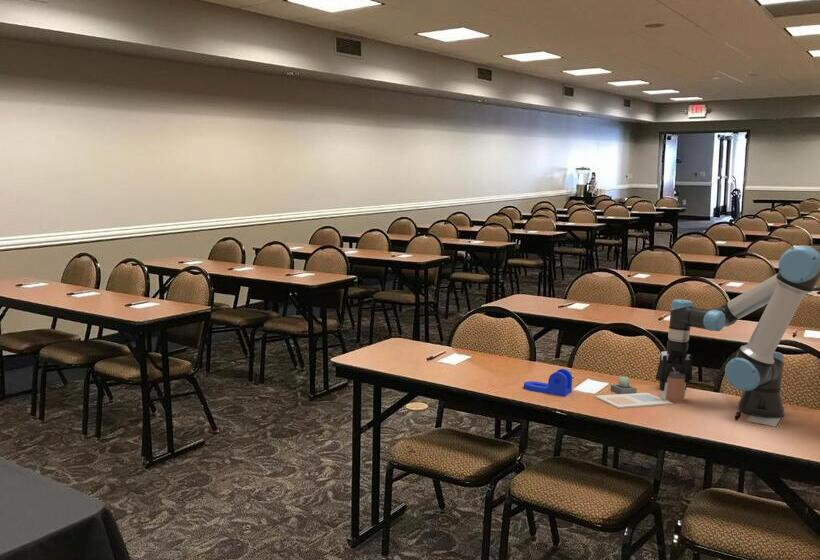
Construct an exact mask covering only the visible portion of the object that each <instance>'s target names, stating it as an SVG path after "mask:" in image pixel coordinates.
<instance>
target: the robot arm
mask: <svg viewBox="0 0 820 560" xmlns="http://www.w3.org/2000/svg"><path fill="white" fill-rule="evenodd" d="M778 261H779V262H778V265H777V267H778V272H777V273H776V274H774V275H772V276H771V277H769V278H767V279H766V280H764V281H762V282H760V283H759V284H757V285H755V286H753V287H751V288H750V289H747V291H744V292H743V293H741V294H739V295H737V296H736V297H734V298H732V299H730V300H729V301H727V302H725V303H723V304H722V305H720V306H717V307H711V308H709V307H708V308H705V307H704V308H703V307H702V308H701V307H696V306H694V303H693V301H692V300H688V299H679V298H677V299H672V302H671V305H670V311H669V313H670V314H669V323H668V324H669V325H668V333H667V334H668V335H667V337H668V340H667V341H666V342H667V344H666V349H667V351H668V352H667V354H666V355H662V354H661V353H660V354H661V355H660V354H659V355H660V358H659V363H658V366H657V371H656V374H655V380H656V381H659V398H661V399H663V400H666V401H667V399H666V394H667V385H668V383H666V381H667V379H668V376H669V374H670V372H671V370H672V368H673V367H674V366H675V365H676V364H677V365H678V368H679V372H680V373H683V374H685V382H684V394H683V400H685V396H686V390H687V387H688V383H690V382H691V381H693V360H694V359H693V358H694V356H693V355H692V354H689V353H687V352H688V351H689V341H690V333H691V328H696V329H702V330H708V331H709V332H710V331H711V332H712V331H713V332H720V331H722V330H723V329H724V328H725V327H729V326H733V325H734V324H736V323H737V322H738V320H740V319H742V318H743V317H746V316H747V315H749V314H751V313H753V312H755V311H756V310H759V309H760V308H762V307H764V306H766V307H765V309H764V310H763V313H762V315H761V317H760V318H759V321H758V323H757V324H756V326H755V328H754V330H753V332H752V334H751V336H750V338H749V340H748V342H747V344H744V345H741V346H740V347H739V349H738V351H737V353H736V354H735V355H736V356H735V357H733V358H731V359H730V360H729V361H728V362H727V363H726V365H725V367H724V375H725V376H724V377H726V380H727V382H728V383H729V384H730V385H731V386H732V388H734V389H736V390H738V391H742V394H741V396H740V398H739V400H738V402H737V403H738V404H737V409H738V410H739V409H740V410H741V412H742V413H744V414H748V415H752V416H755V417H762V418H781V417H780V416H782V417H783V415H784V416H785V407H784V404H783V401H782V394H781V390H782V381H783V380H782V379H783V370H784V364H785V362H784V354H783V353H782V352H779V351H776V349H777V347H778V346H779V344H780V342H781V340H782V338H783V336H784V334H785V332H786V330H788V327H789V325H790V323H791V321H792V319H793V317H794V315H795V314H796V312H797V310H798V308H799V306H800V304H801V302H802V300H803V299H804V296H805V295H808V294H810V293H812V292H813V291H814V288H815V287H816V286H817V283H818V282H819V281H820V245H797V246H795V247H791V248H789V249H787V250H786V251H785V252H784V253H783V254H781V256H780V258H779V260H778ZM667 358H668V359H667ZM670 363H671V364H670ZM663 378H664V379H663ZM740 410H739V411H740Z"/></svg>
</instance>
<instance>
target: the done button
mask: <svg viewBox="0 0 820 560" xmlns="http://www.w3.org/2000/svg"><path fill="white" fill-rule="evenodd" d="M618 384H619V385H618V387H621V388H629V385H630V377H628V376H619V377H618Z"/></svg>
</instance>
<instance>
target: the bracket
mask: <svg viewBox="0 0 820 560" xmlns="http://www.w3.org/2000/svg"><path fill="white" fill-rule="evenodd" d="M572 387H573V374H572V373H571V371H569V370H568V369H567V368H560V369H558V370H557V371H555V372H553V373H551V374H550V376H549V377H548V379H547V382H541V381H525V382H523V390H526V391H530V392H535V393H541V394H549V395H551V396H559V397H563V398H564V397H565V398H566V397H567V396H568V395H570V394H572V390H573V389H572Z"/></svg>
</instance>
